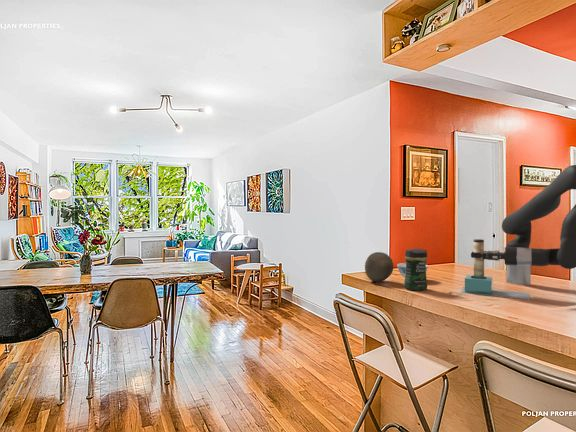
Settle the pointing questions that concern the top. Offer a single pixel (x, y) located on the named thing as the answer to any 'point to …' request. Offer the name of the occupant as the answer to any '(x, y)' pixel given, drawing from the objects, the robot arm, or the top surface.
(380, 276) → the dark grey ball
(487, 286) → the teal open box
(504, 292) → the board
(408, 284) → the coffee jar
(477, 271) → the dowel
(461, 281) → the top surface
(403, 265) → the chinaware
